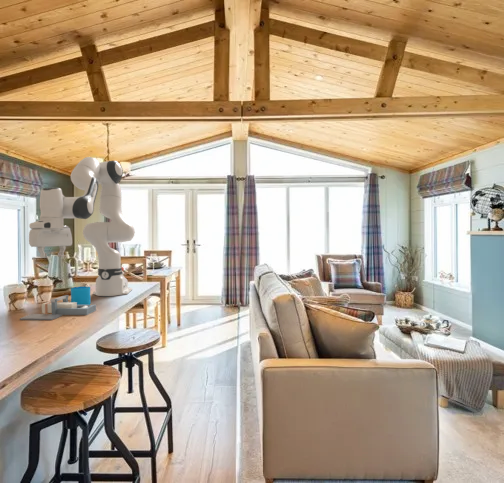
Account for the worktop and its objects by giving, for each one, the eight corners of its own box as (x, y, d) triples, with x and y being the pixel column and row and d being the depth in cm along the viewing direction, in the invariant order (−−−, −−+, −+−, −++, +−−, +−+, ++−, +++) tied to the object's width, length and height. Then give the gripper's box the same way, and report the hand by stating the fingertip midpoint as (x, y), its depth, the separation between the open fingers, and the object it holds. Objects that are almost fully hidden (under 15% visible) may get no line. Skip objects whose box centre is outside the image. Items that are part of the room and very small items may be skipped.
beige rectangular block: (41, 313, 149) (41, 303, 149) (47, 311, 154) (47, 301, 153) (71, 313, 149) (71, 304, 149) (77, 311, 153) (76, 302, 153)
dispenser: (50, 315, 146) (50, 300, 146) (65, 309, 156) (65, 295, 156) (85, 315, 145) (84, 300, 145) (97, 309, 156) (97, 295, 155)
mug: (86, 307, 161) (86, 289, 161) (68, 307, 161) (67, 289, 161) (96, 301, 173) (96, 284, 173) (79, 301, 173) (78, 285, 172)
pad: (31, 315, 146) (31, 313, 146) (62, 315, 145) (62, 314, 145) (19, 319, 139) (19, 318, 139) (52, 320, 138) (51, 318, 138)
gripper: (63, 225, 162) (64, 255, 163) (25, 224, 143) (26, 258, 143) (75, 225, 161) (76, 255, 161) (38, 223, 141) (39, 258, 141)
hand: (52, 257), depth 152 cm, fingers open, 8 cm apart
